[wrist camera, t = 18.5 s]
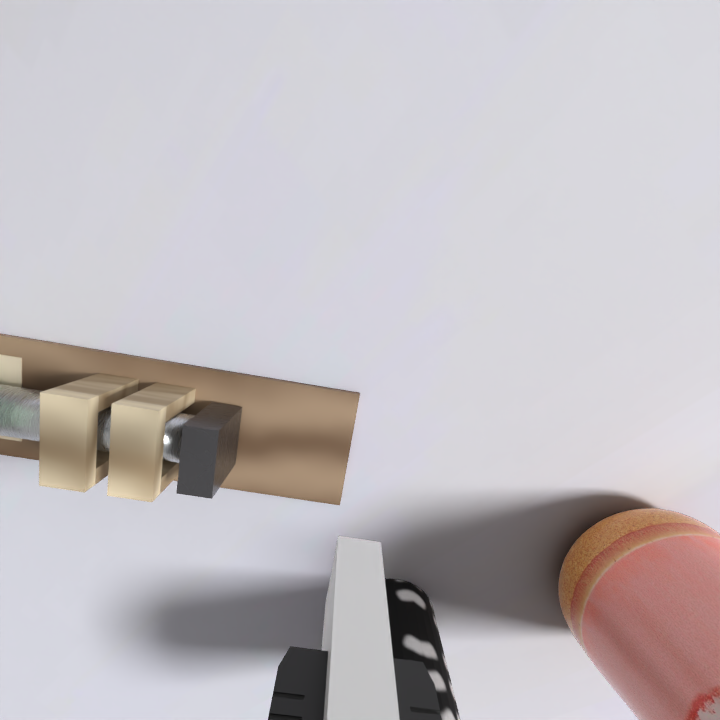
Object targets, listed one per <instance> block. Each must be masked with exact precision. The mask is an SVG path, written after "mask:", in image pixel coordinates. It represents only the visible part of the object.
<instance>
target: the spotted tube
mask: <svg viewBox="0 0 720 720" xmlns="http://www.w3.org/2000/svg"><path fill="white" fill-rule="evenodd" d="M385 585H386V595H387V604H388V614H389V624H390V633H391V643H392V652H393V658H396V659H403V660H411V661H419V662H423V663H424V665H425V667H426V669H427V671H428V673H429V675H430V676H431V678H432V680H433V682H434V684H435V688H436V693H437V698H438V703H439V708H440V715H441V718H442V720H460V717H459V713H458V709H457V705H456V701H455V697H454V692H453V688H452V684H451V680H450V676H449V672H448V668H447V664H446V660H445V656H444V652H443V648H442V644H441V640H440V635H439V631H438V627H437V623H436V619H435V615H434V611H433V607H432V604H431V602H430V600H429V598H428V597H427V595H426V594H425V593H424V592H423V591H422V590H421V589H420V588H418V587H417V586H415V585H413V584H411V583H409V582H406V581H403V580H396V579H385Z"/></svg>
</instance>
